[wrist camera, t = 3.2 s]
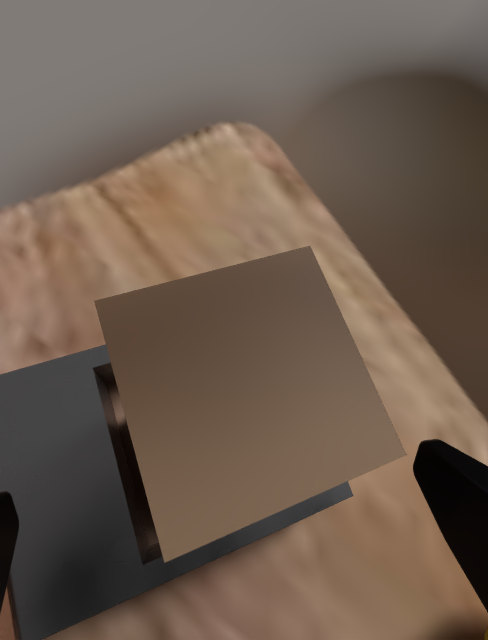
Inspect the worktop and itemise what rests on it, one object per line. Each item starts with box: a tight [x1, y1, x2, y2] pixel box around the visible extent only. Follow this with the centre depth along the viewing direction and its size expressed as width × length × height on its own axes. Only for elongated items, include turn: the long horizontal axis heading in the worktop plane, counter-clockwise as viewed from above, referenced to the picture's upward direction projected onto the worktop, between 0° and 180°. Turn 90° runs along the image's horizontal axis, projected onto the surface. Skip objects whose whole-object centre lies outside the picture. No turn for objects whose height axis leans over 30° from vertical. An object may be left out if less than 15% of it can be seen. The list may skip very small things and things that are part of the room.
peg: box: [95, 246, 406, 563], centre depth 12 cm, size 4×4×12 cm
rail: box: [0, 345, 353, 640], centre depth 14 cm, size 8×21×3 cm, turn 110°
